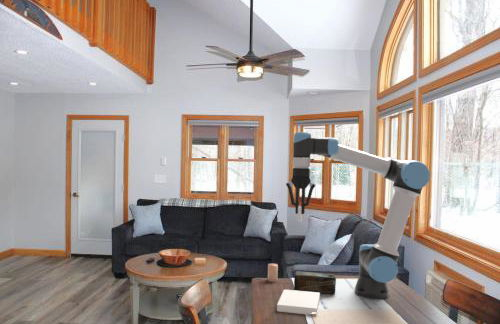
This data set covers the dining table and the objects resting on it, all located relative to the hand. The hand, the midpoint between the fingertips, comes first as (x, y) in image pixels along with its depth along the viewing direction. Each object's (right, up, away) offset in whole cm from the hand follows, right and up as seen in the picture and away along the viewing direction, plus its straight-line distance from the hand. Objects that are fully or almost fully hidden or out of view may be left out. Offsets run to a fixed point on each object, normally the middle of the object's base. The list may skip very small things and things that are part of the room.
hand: (299, 221), depth 182 cm
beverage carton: (0, -36, +15) cm, 39 cm away
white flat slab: (-1, -35, -6) cm, 35 cm away
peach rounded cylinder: (-10, -34, +29) cm, 46 cm away
